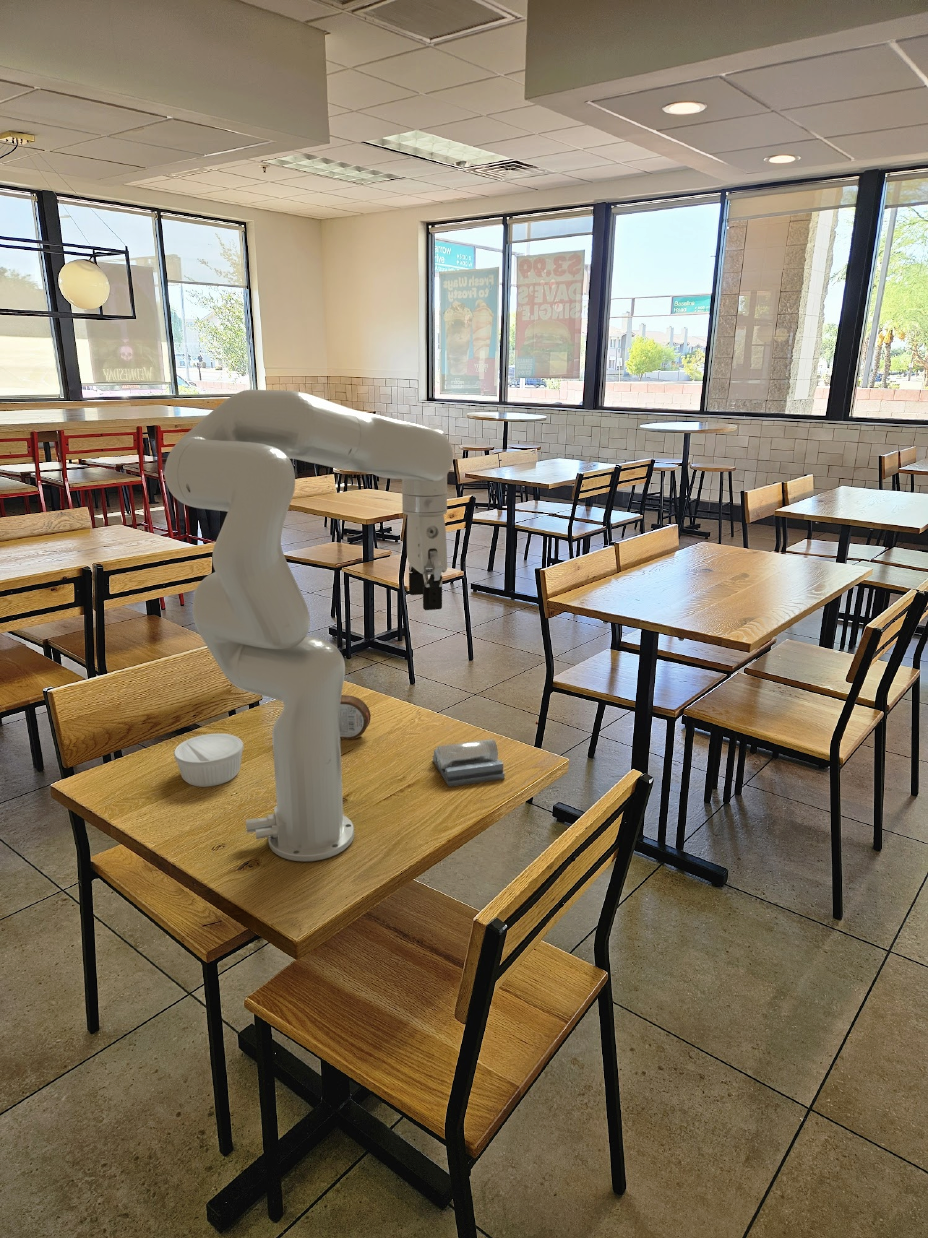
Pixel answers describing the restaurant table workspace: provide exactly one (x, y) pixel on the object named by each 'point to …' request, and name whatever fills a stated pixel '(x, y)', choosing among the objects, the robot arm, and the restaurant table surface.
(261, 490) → the robot arm
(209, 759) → the ramekin
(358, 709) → the tin
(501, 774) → the v block
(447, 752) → the clear cylinder
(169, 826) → the restaurant table surface
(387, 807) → the restaurant table surface
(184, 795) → the restaurant table surface
